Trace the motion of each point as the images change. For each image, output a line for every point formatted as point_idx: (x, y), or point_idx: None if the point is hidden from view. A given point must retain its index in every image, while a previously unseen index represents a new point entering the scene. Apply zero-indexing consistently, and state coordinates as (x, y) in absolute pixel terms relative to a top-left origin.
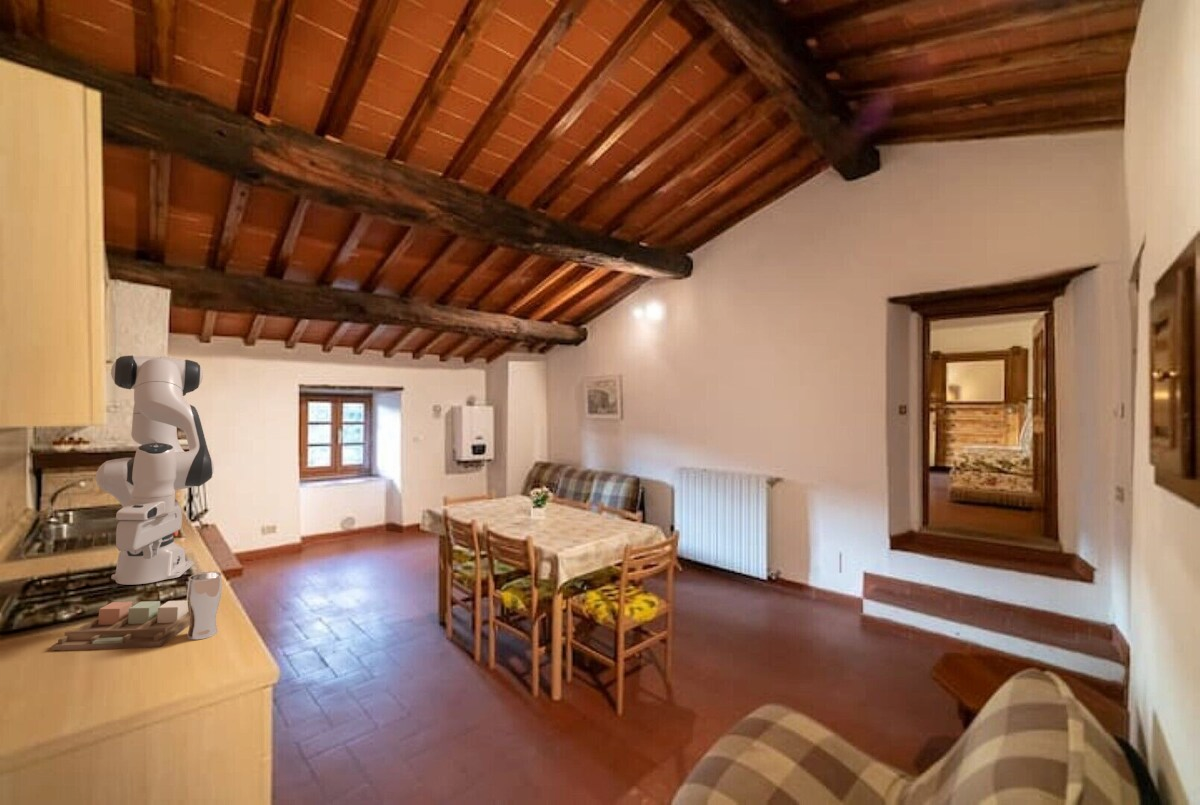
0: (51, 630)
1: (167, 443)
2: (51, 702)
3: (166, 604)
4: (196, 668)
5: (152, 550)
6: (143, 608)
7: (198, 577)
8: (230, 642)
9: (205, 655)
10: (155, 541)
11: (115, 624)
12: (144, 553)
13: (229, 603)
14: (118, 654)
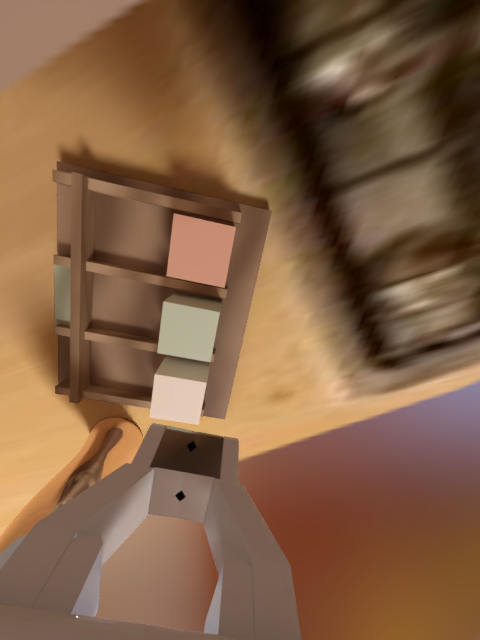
0: (214, 86)
1: None
2: None
3: (177, 385)
4: None
5: (137, 526)
6: (159, 338)
7: None
8: None
9: (21, 465)
10: (207, 619)
11: (142, 276)
12: (136, 459)
13: (288, 441)
14: (35, 325)
